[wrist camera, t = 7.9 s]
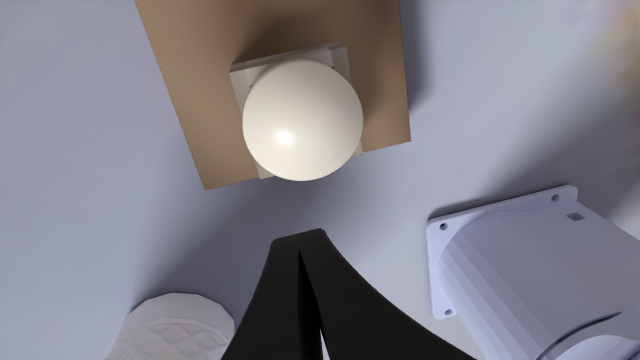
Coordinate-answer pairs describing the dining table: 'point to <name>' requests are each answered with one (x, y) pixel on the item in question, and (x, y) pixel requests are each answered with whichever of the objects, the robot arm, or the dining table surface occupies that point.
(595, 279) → the robot arm
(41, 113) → the dining table surface
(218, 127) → the knob mount
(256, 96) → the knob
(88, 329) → the dining table surface
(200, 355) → the white cup
